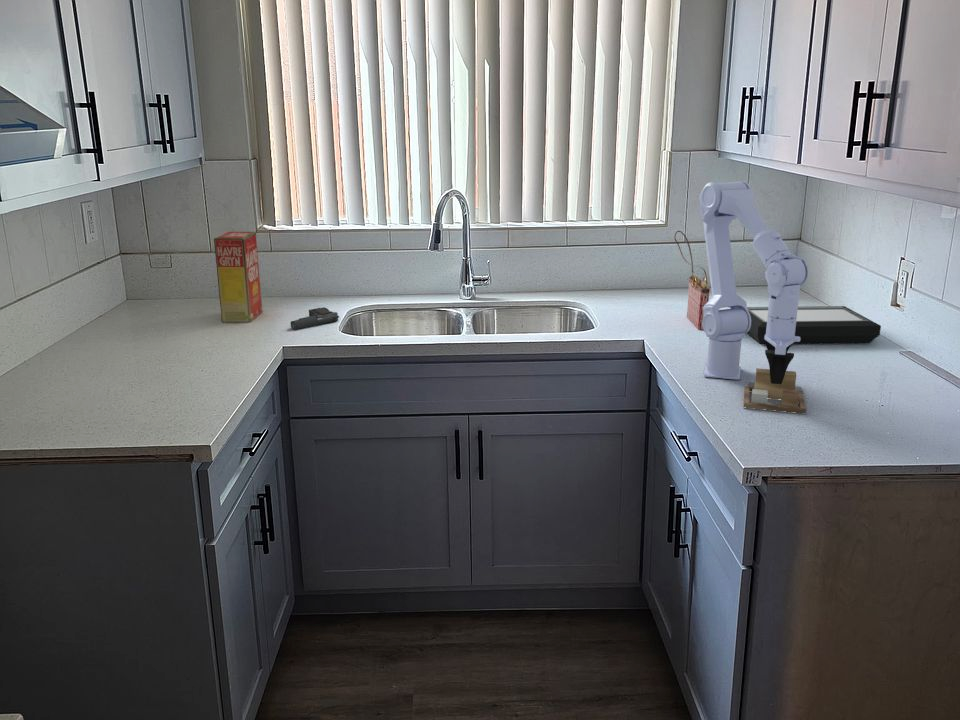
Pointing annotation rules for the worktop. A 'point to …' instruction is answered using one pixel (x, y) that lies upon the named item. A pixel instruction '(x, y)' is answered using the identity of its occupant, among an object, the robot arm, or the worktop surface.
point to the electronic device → (820, 325)
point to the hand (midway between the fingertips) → (775, 377)
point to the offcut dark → (790, 398)
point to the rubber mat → (795, 386)
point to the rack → (774, 407)
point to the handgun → (315, 318)
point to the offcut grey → (759, 396)
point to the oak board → (774, 389)
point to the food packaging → (238, 276)
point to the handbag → (696, 295)
